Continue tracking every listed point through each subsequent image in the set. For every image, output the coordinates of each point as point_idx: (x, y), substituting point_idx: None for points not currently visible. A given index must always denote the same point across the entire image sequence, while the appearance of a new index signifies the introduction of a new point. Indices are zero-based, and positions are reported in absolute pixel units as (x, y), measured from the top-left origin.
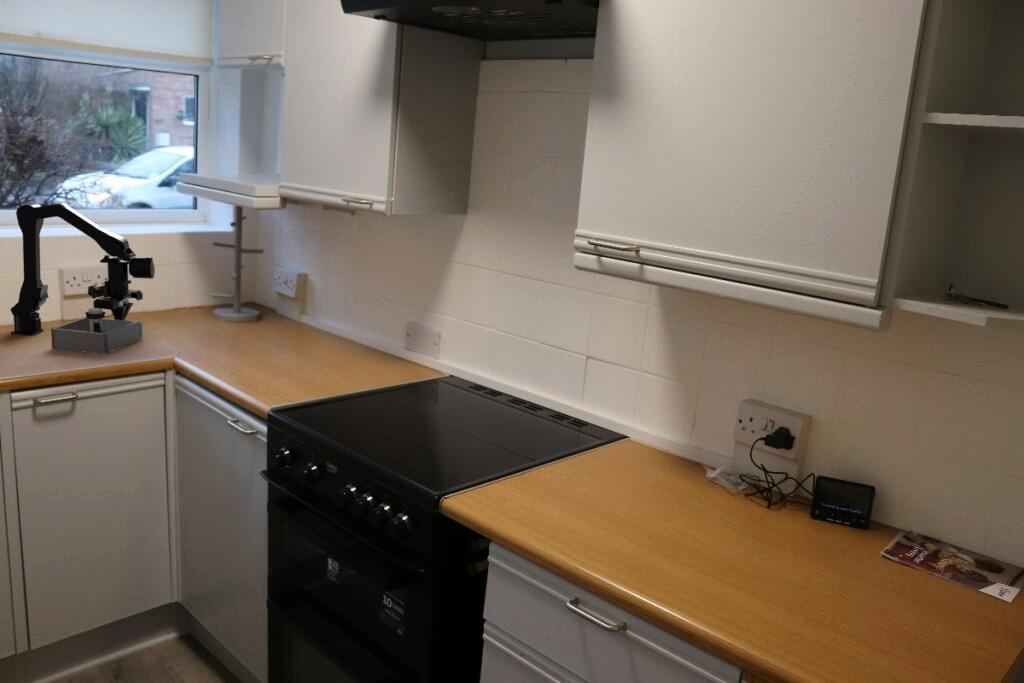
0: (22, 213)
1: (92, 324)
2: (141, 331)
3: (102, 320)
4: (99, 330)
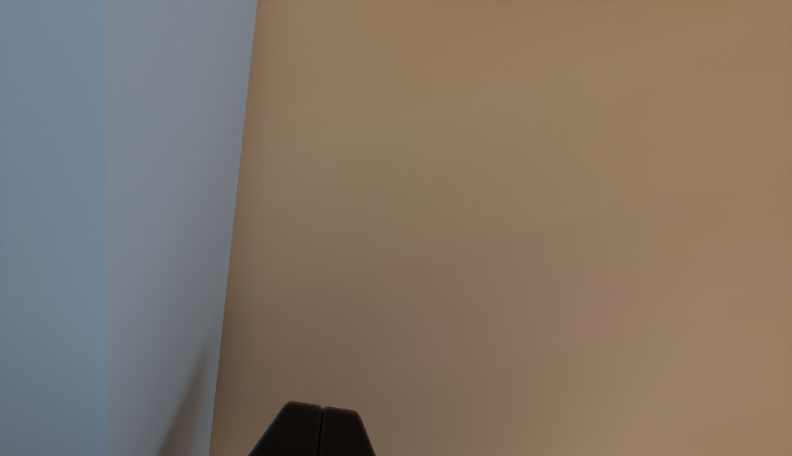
0: None
1: None
2: None
3: None
4: None
